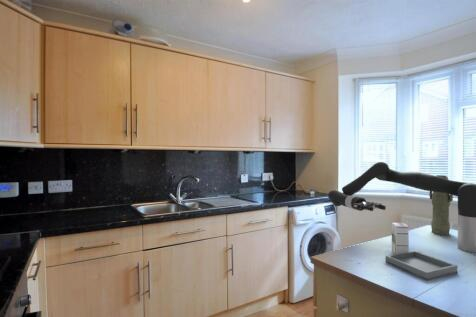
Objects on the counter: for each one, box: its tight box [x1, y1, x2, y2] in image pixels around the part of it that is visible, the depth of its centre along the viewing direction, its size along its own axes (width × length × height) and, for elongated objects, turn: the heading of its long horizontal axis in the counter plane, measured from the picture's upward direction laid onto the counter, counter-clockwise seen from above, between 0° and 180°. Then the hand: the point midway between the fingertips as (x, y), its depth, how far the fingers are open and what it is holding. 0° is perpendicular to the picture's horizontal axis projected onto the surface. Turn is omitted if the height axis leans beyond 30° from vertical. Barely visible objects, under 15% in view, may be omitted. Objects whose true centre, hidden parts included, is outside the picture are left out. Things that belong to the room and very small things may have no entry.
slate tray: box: [385, 250, 458, 281], centre depth 113 cm, size 18×18×3 cm
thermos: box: [429, 174, 454, 236], centre depth 161 cm, size 9×12×35 cm
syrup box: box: [391, 222, 410, 254], centre depth 128 cm, size 6×6×14 cm
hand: (379, 208), depth 139 cm, fingers open, 8 cm apart
